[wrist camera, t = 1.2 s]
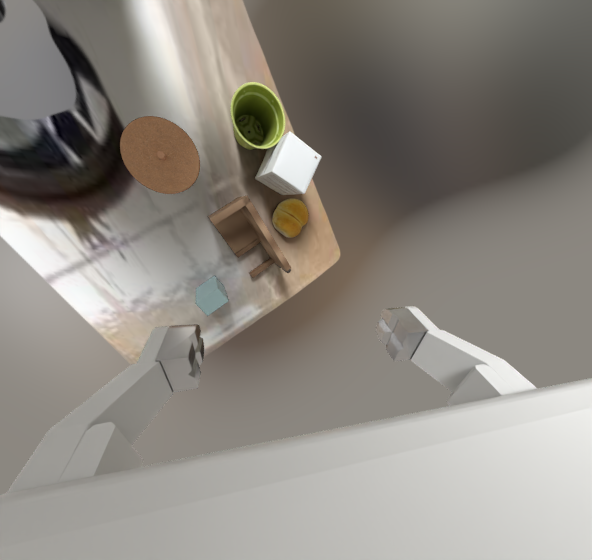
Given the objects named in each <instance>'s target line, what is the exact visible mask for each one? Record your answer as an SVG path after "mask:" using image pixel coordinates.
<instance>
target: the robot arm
mask: <svg viewBox="0 0 592 560" xmlns="http://www.w3.org/2000/svg"><path fill="white" fill-rule="evenodd" d="M381 317H382V319H381V320H380V321H379V322H378V323H377V326H376V333H377V335H378V338H379V340H380V341H381V342H382V343H384V344H386V350H387V352H388V353H389V355H390V356H391V358H392V359H393V361H402V360H411V361H412V362H413V363H415V364H416V365H417V366H418V367H420V368H421V369H422V370H424V371H425V372H426V373H428V374H429V375H430V376H432V377H433V378H434V379H436V380H437V381H438V382H440V383H441V384H442V385H444V386H445V387H446V388H448V389H449V390H450V391H451V392H452V394H451V395H450V396H449V397H448V398H447V403H448V404H449V405H450V406H447V407H443V408H437V409H432V410H427V411H422V412H417V413H412V414H407V415H402V416H397V417H391V418H386V419H381V420H376V421H371V422H366V423H361V424H356V425H351V426H346V427H341V428H336V429H331V430H325V431H320V432H315V433H311V434H305V435H300V436H295V437H290V438H285V439H280V440H274V441H269V442H264V443H259V444H254V445H249V446H244V447H239V448H234V449H229V450H224V451H219V452H214V453H209V454H204V455H199V456H193V457H189V458H184V459H178V460H173V461H168V462H163V463H158V464H153V465H148V466H143V467H141V466H142V463H143V459H142V457H141V456H140V455H139V453H138V452H137V451H136V450H135V449H134V448H133V446H132V445H133V444H134V442H135V441H136V440H137V438H138V437H139V436H140V435H141V434H142V432H143V431H144V430H145V429H146V427H147V426H148V425H149V424H150V422H151V421H152V420H153V418H154V417H155V416H156V415H157V414H158V412H159V411H160V410H161V408H162V407H163V406H164V404H165V403H166V402H167V401H168V400H169V398H170V397H171V396H172V395H173V392H179V391H185V390H190V389H197V388H198V384H199V379H200V374H201V371H200V367H199V365H200V364H202V362H203V358H204V342H203V339H202V338H201V337H200V332H201V330H200V326H199V325H198V324H194V325H177V326H165V327H156V328H154V329H153V330H152V332H151V335H150V337H149V339H148V341H147V343H146V345H145V347H144V349H143V351H142V353H141V355H140V357H139V359H138V361H137V364H132V365H130V366H129V367H128V368H127V369H125V370H124V371H123V372H121V373H120V374H119V375H118V376H116V377H115V378H114V379H113V380H111V381H110V382H109V383H108V384H107V385H105V386H104V387H103V388H101V389H100V390H99V391H97V392H96V393H95V394H94V395H93V396H91V397H90V398H89V399H87V400H86V401H85V402H84V403H82V404H81V405H80V406H79V407H77V408H76V409H75V410H73V411H72V412H71V413H70V414H68V415H67V416H66V417H65V418H63V419H62V420H61V421H60V422H58V423H57V424H56V425H55V426H53V427H52V428H51V429H49V431H48V432H47V434H46V435H45V436H44V438H43V439H42V441H41V442H40V444H39V445H38V447H37V448H36V450H35V451H34V453H33V454H32V456H31V457H30V459H29V460H28V462H27V463H26V465H25V466H24V468H23V469H22V471H21V472H20V474H19V475H18V477H17V478H16V480H15V481H14V482H13V484H12V486H11V487H10V489H9V490H8V492H7V493H6V494H1V495H0V560H592V378H590V379H585V380H580V381H575V382H569V383H564V384H559V385H554V386H549V387H544V388H539V389H537V388H536V387H535V386H534V385H533V384H531V383H530V382H529V381H528V380H527V379H525V378H524V377H523V376H522V375H521V374H520V373H519V372H517V371H516V370H515V369H514V368H513V367H512V366H511V365H509V364H508V363H507V362H506V361H505V360H503V359H501V358H499V357H497V356H495V355H492V354H491V353H489V352H487V351H485V350H483V349H480V348H478V347H476V346H474V345H472V344H470V343H468V342H466V341H464V340H462V339H460V338H458V337H456V336H454V335H452V334H450V333H448V332H446V331H444V330H439V329H438V328H437V327H436V326H435V325H434V324H433V323H432V322H431V321H430V320H429V319H428V318H427V317H426V316H425V315H424V314H423V313H422V312H421V311H420V310H419V309H418V308H417V307H414V306H409V307H401V308H400V307H399V308H388V309H384V310H383V311H382V313H381Z"/></svg>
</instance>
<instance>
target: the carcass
mask: <svg viewBox="0 0 592 560" xmlns="http://www.w3.org/2000/svg"><path fill="white" fill-rule="evenodd" d="M208 218H209V219H210V220H211V222H212V223H213V225H214V226H215V227H216V229H217V230H218V231H219V233H220V234H221V235H222V237H223V238H224V239H225V241H226V242H227V244H228V245H229V246H230V248H231V249H232V250H233V252H234V253H235V254H236V256H237V257H240V256H241V255H243V254H244V253H246V252H247V251H248V250H250V249H251V248H253V247H254V246H256V245H257V244H259V243H260V242H261V244H262V245H263V247H264V248H265V250H266V252H267V253H268V255H269V256H270V259H268V260H267V261H265V262H264V263H263V264H261V265H260V266H258V267H257V268H255V269H254V270H253V271H251V272H250V275H251V276H252V277H255V276H256V275H258V274H259V273H260V272H262V271H263V270H265V269H266V268H267V267H269V266H270V265H272V264H273V263H274V262H275V263H276V265H277V266H279V267H280V268H282V269H283V270H284V271H285V272H287V273H289V272H290V271H291V267H290V265H289V263H288V262H287V260H286V258H285V257H284V255H283V253H282V252H281V250H280V249H279V247H278V245H277V244H276V242H275V240H274V239H273V237H272V235H271V234H270V232H269V230H268V229H267V227H266V225H265V224H264V222H263V221H262V219H261V217H260V216H259V214H258V212H257V211H256V209H255V207H254V206H253V204H252V202H251V201H250V199H249V198H248V196H243V197H238V198H237V199H235V200H233V201H232V202H230V203H229V204H227V205H225V206H224V207H222V208H221V209H219V210H218V211H216V212H214V213H213V214H211V215H210V216H208Z"/></svg>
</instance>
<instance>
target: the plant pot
mask: <svg viewBox="0 0 592 560" xmlns="http://www.w3.org/2000/svg"><path fill="white" fill-rule="evenodd" d="M231 118H232V122H233V125H234V135H235V138H236V140H237V141H238V143H239V144H240V145H241V146H243V147H244V148H246V149H249V150H253V149H257V148H258V149H268V148H271V147H273V146H274V145H276V144H277V143H278V142H279V141H280V139H281V138H282V136H283V133H284V130H285V115H284V111H283V108H282V105H281V103H280V101H279V99H278V98H277V96H276V95H275V94H274V93H273V92H272V91H271V90H270V89H269V88H267V87H266V86H265V85H262V84H260V83H256V82H249V83H246V84H243V85H242V86H240V87H239V88H238V89H237V90H236V92H235V93H234V95H233V98H232V101H231ZM242 118H245V119H246V120H243V121H241V122H240V120H241V119H242ZM256 124H257V125H258V126H259V128H260V132H259V130H258V127H257V126H256ZM248 131H250V133H248ZM256 143H257V145H254V144H256Z"/></svg>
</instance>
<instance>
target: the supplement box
mask: <svg viewBox="0 0 592 560" xmlns="http://www.w3.org/2000/svg"><path fill="white" fill-rule="evenodd" d="M320 159H321V156H320V155H319V154H318V153H316V152H315V151H314V150H312V149H311V148H310V147H309V146H307V145H306V144H305V143H304V142H303V141H301V140H300V139H299V138H298V137H296V136H295V135H294V134H293V133H291V132H288V133H287V134H286V135H284V136H283V137H282V138H281V139H280V141H279V142H278V143H277V144H276V145H274V146H273V147H271V148H268V149H267V152H266V154H265V157H264V159H263V162H262V164H261V166H260V169H259V171H258V173H257V175H256V177H255V179H256V180H258V181H259V182H261V183H263V184H264V185H266V186H268V187H269V188H271V189H273V190H274V191H276V192H277V193H279V194H281V195H292V194H304V193H305V192H306V190H307V187H308V185H309V183H310V181H311V179H312V176H313V175H314V172H315V170H316V168H317V166H318V163H319V161H320Z"/></svg>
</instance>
